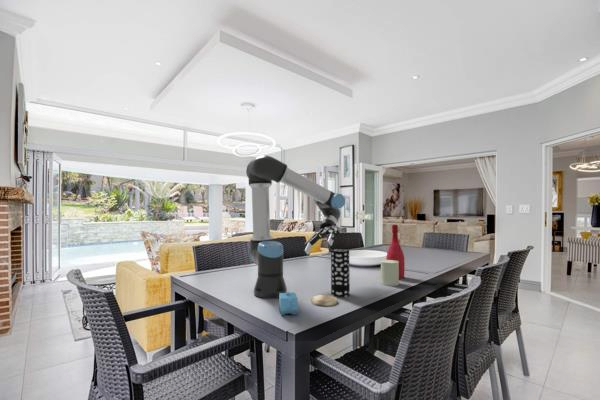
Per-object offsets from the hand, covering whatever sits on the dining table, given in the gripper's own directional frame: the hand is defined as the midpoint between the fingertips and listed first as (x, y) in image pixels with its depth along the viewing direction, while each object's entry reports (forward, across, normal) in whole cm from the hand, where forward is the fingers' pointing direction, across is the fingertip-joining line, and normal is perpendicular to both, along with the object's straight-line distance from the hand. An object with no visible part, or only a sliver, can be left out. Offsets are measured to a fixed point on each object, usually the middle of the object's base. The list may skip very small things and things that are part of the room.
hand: (317, 248), depth 141 cm
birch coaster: (+22, -1, -14) cm, 26 cm away
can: (-15, -14, -42) cm, 46 cm away
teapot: (+38, +3, -2) cm, 38 cm away
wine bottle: (-29, -12, -49) cm, 58 cm away
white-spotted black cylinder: (+10, -2, -21) cm, 23 cm away
